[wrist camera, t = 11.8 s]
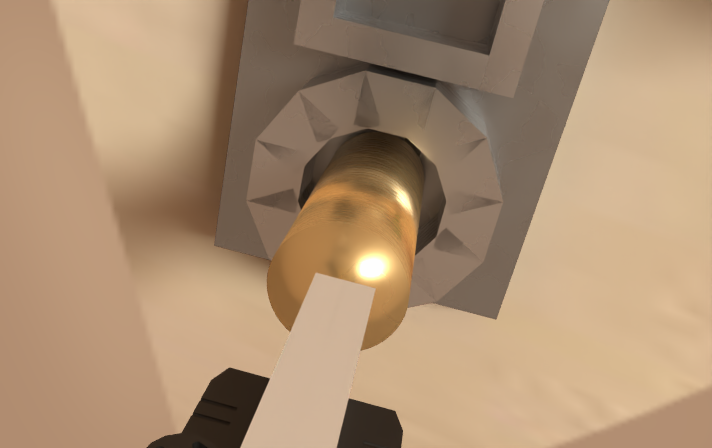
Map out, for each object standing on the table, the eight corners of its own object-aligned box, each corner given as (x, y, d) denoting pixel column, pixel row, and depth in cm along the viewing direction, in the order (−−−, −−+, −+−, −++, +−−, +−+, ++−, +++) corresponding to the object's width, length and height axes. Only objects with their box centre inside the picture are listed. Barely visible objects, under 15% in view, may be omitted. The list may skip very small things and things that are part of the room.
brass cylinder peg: (337, 122, 27) (277, 209, 18) (434, 143, 27) (424, 242, 18) (321, 211, 29) (258, 334, 19) (412, 233, 28) (392, 366, 19)
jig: (292, -206, 25) (257, -236, 20) (641, -127, 24) (679, -141, 20) (228, 228, 32) (193, 271, 28) (494, 297, 31) (499, 352, 27)
